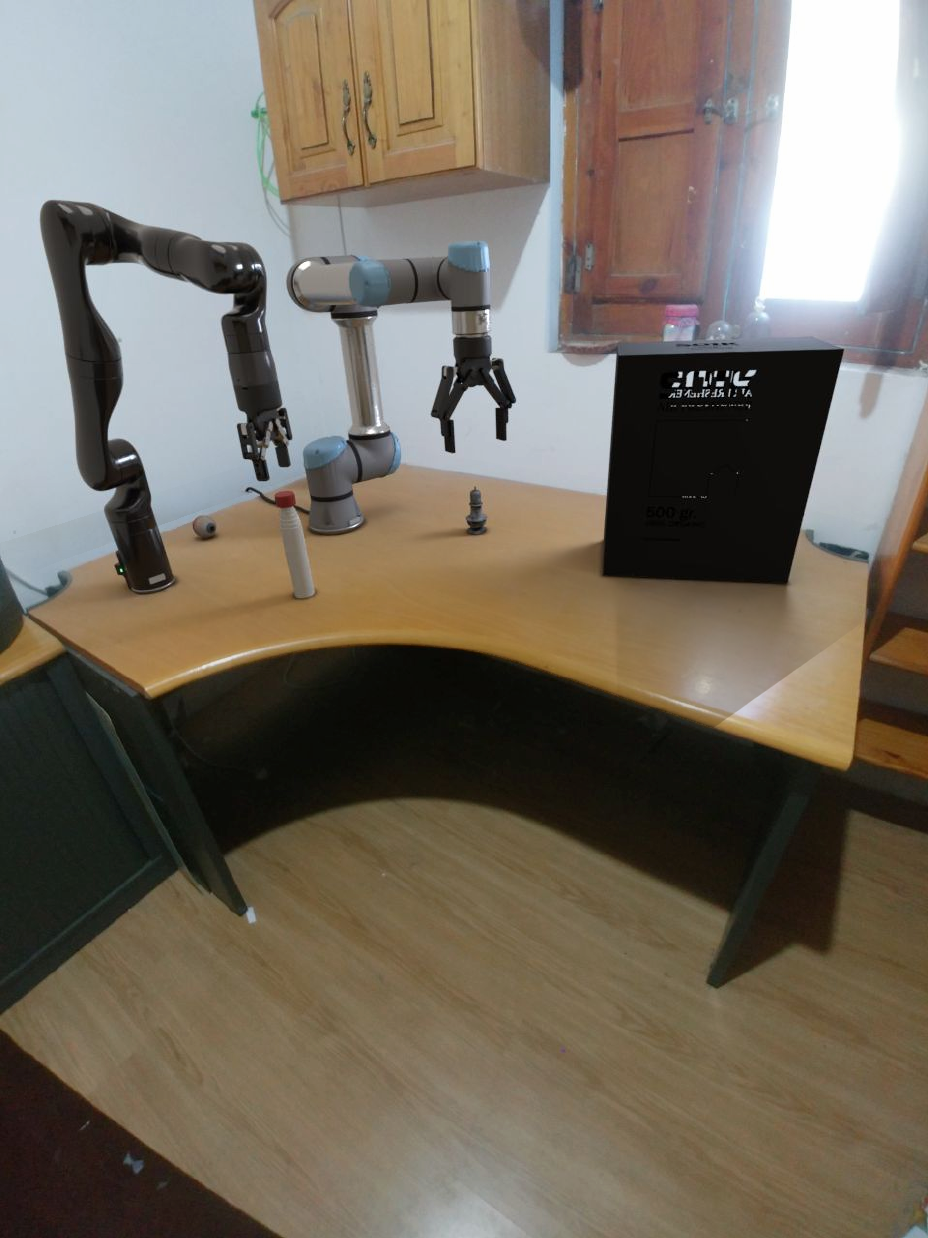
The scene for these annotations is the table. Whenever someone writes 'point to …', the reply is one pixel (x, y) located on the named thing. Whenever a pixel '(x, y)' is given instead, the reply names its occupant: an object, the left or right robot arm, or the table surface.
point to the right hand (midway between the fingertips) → (476, 445)
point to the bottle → (296, 553)
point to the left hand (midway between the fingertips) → (274, 473)
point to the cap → (285, 499)
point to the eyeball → (204, 526)
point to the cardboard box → (714, 456)
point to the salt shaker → (476, 514)
